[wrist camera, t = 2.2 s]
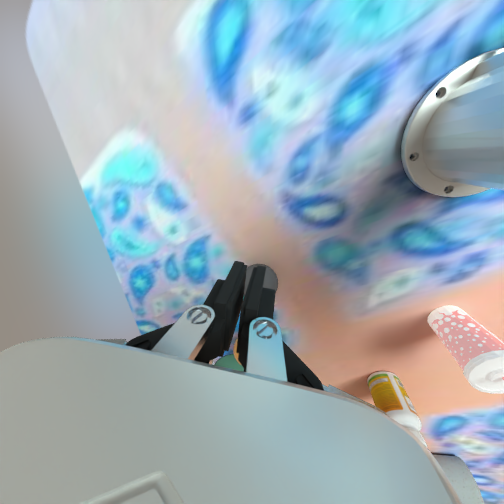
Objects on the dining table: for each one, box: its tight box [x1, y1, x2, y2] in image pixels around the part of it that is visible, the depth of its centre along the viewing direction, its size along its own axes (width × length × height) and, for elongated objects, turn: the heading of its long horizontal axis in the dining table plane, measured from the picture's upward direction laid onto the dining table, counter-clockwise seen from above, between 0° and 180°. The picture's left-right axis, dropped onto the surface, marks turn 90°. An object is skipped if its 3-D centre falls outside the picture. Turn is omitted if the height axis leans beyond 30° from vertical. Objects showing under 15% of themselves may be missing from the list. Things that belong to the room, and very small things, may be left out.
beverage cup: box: [428, 305, 504, 394], centre depth 24 cm, size 6×6×14 cm
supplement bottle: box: [367, 371, 427, 447], centre depth 33 cm, size 5×5×10 cm
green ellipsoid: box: [215, 354, 244, 371], centre depth 43 cm, size 14×14×1 cm
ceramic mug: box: [432, 454, 484, 504], centre depth 42 cm, size 11×8×8 cm
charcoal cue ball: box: [244, 264, 278, 296], centre depth 29 cm, size 6×6×6 cm
